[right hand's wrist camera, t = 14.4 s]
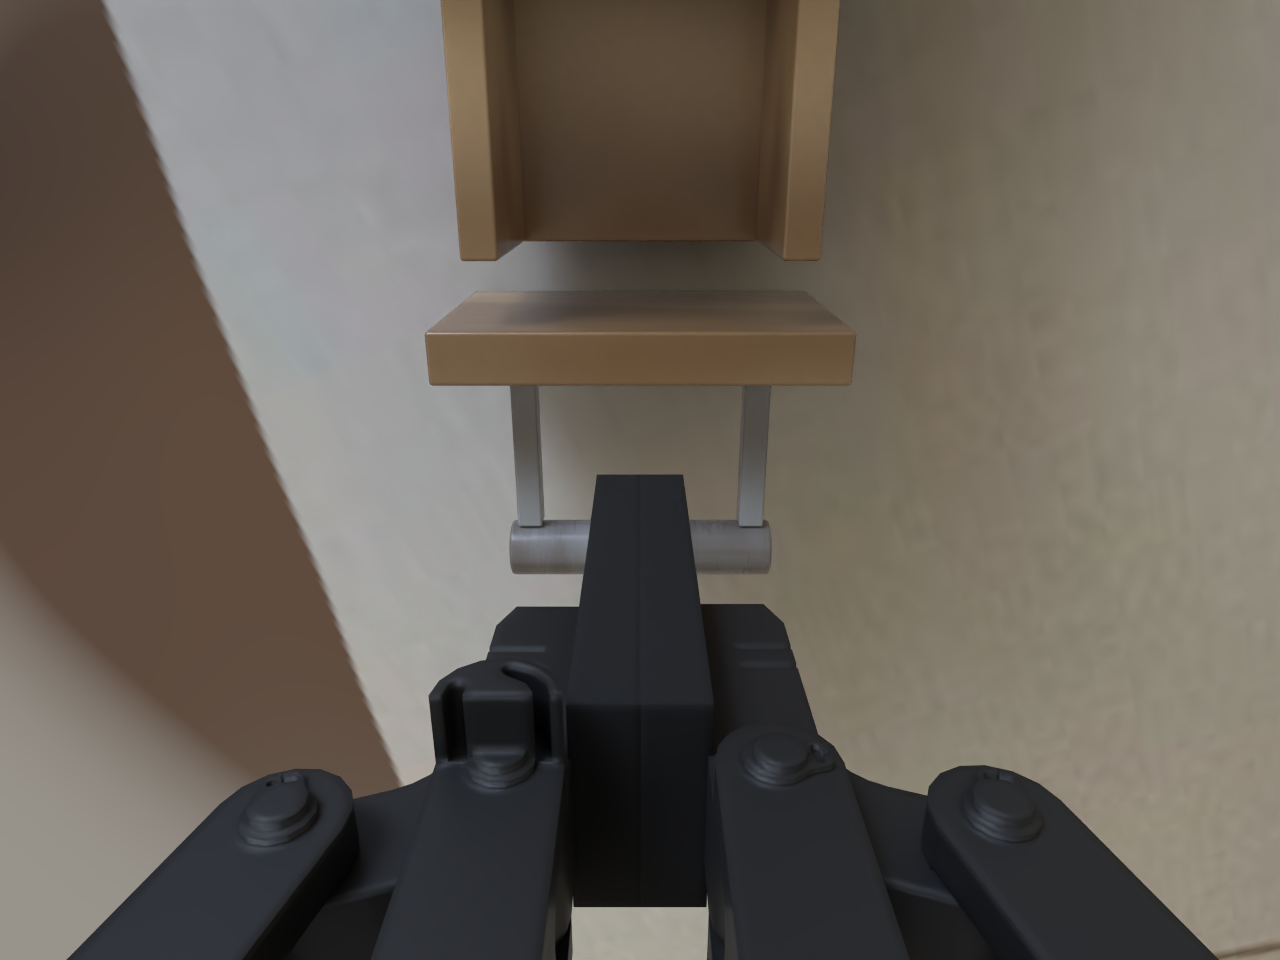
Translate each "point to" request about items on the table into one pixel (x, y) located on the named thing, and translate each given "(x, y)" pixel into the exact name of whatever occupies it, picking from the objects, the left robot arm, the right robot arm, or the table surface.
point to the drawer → (640, 218)
